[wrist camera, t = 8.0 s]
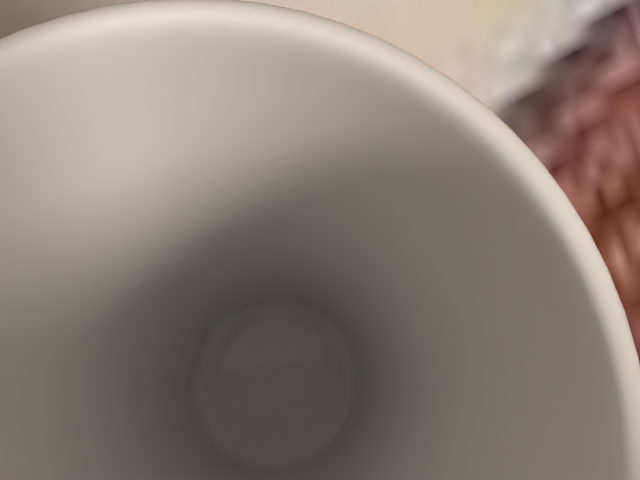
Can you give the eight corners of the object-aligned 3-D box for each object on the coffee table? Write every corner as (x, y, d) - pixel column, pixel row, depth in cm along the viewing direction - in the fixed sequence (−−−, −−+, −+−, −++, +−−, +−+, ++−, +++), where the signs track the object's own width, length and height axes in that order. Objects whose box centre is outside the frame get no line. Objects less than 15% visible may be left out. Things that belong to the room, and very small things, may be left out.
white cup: (179, 510, 18) (-430, 1194, 3) (162, 289, 19) (-309, 25, 4) (400, 477, 18) (812, 947, 3) (367, 262, 19) (555, -62, 5)
